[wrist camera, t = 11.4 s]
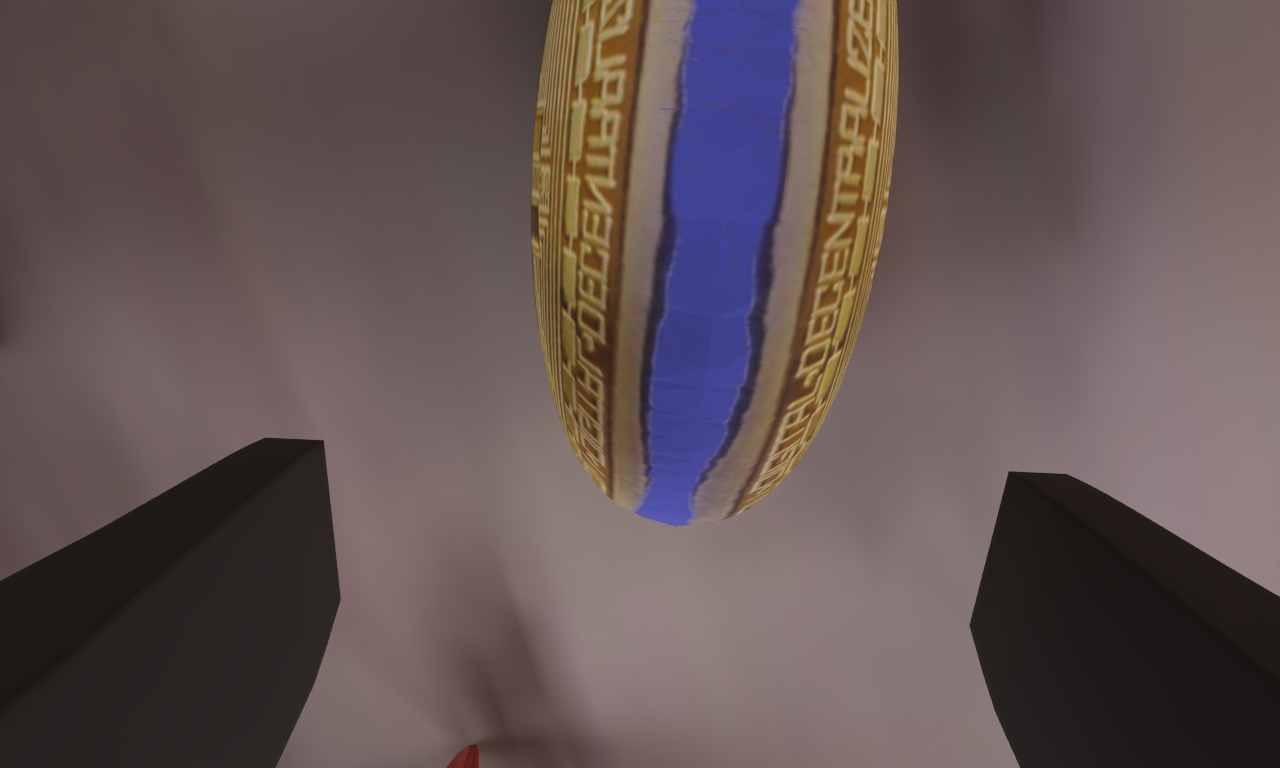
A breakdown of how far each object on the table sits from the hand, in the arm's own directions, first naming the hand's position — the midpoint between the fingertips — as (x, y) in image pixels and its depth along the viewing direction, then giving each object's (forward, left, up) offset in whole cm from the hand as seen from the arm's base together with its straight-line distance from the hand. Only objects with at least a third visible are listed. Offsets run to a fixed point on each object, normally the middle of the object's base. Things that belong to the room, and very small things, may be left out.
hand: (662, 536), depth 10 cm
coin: (+1, +3, -11) cm, 11 cm away
